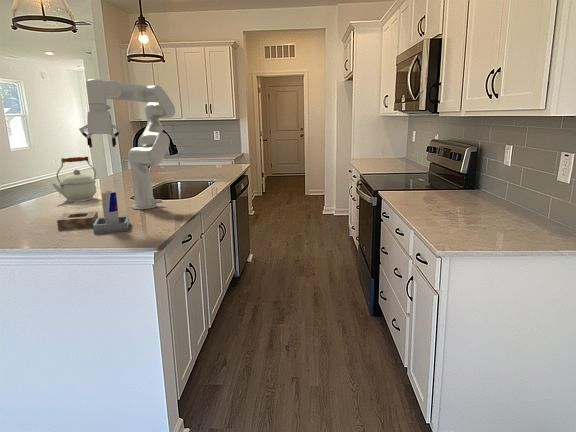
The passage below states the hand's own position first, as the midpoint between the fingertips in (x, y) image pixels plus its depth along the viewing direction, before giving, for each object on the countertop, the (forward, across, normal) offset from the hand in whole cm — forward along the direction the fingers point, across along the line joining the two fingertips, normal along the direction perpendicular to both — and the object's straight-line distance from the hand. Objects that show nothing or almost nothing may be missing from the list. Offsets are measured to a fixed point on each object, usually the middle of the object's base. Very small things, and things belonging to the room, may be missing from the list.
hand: (102, 147), depth 184 cm
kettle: (+34, +23, -55) cm, 68 cm away
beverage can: (+32, -3, +22) cm, 39 cm away
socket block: (+33, +12, +9) cm, 37 cm away
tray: (+33, -3, +22) cm, 40 cm away
